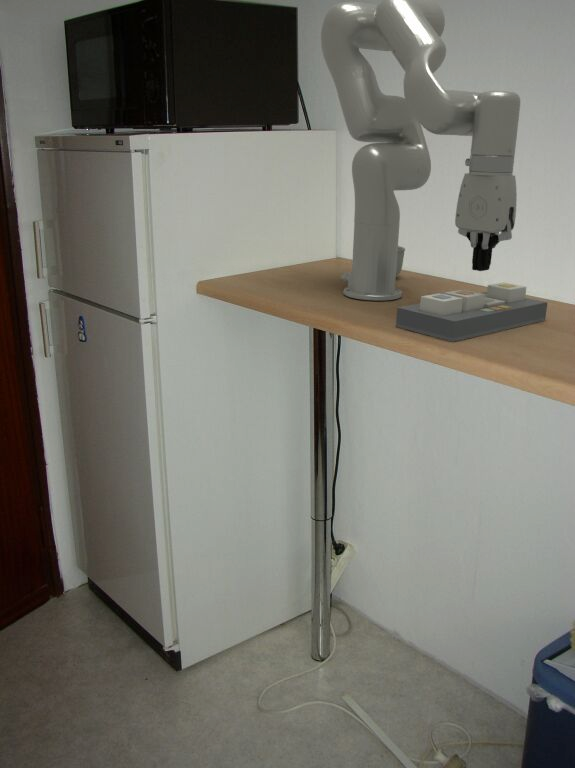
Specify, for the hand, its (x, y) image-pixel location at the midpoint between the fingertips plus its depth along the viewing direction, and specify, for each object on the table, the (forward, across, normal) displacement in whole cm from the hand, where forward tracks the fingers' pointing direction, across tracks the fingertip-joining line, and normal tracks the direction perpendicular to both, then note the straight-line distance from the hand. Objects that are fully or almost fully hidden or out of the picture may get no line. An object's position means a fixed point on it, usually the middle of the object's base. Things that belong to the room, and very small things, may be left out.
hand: (480, 269), depth 140 cm
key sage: (+9, 0, +3) cm, 9 cm away
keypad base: (+10, 0, -1) cm, 10 cm away
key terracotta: (+7, 0, -4) cm, 8 cm away
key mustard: (+7, 0, +9) cm, 11 cm away
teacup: (+10, -42, +20) cm, 48 cm away
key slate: (+7, 0, -11) cm, 13 cm away
